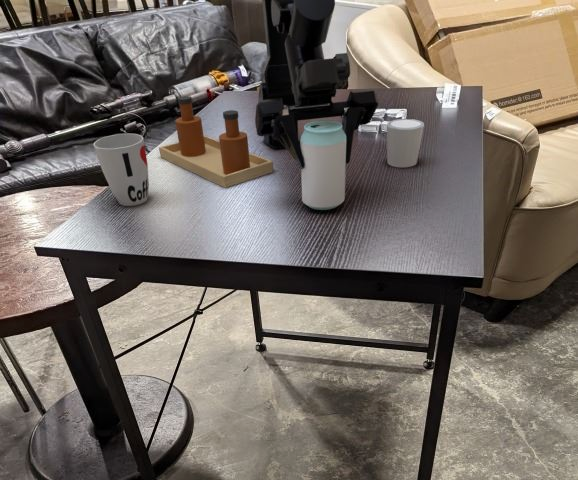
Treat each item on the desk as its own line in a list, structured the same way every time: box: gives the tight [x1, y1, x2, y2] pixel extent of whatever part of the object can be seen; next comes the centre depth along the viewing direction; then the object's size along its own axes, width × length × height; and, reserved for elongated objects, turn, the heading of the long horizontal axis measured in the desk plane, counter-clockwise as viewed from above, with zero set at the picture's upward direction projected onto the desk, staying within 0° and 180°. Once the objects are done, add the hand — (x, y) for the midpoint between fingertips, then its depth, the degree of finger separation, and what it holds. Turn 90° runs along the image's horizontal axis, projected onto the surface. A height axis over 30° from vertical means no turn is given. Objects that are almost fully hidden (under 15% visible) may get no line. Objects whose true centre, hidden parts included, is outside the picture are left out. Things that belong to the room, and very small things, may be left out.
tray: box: [158, 134, 274, 189], centre depth 105 cm, size 24×11×2 cm, turn 39°
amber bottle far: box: [174, 95, 206, 157], centre depth 107 cm, size 5×5×10 cm
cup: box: [93, 133, 150, 207], centre depth 90 cm, size 8×8×10 cm
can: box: [299, 119, 347, 211], centre depth 83 cm, size 7×7×12 cm
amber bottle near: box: [218, 109, 250, 175], centre depth 97 cm, size 5×5×10 cm
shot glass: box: [386, 118, 425, 168], centre depth 99 cm, size 7×7×7 cm
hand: (325, 165), depth 82 cm, fingers closed on can, 7 cm apart
